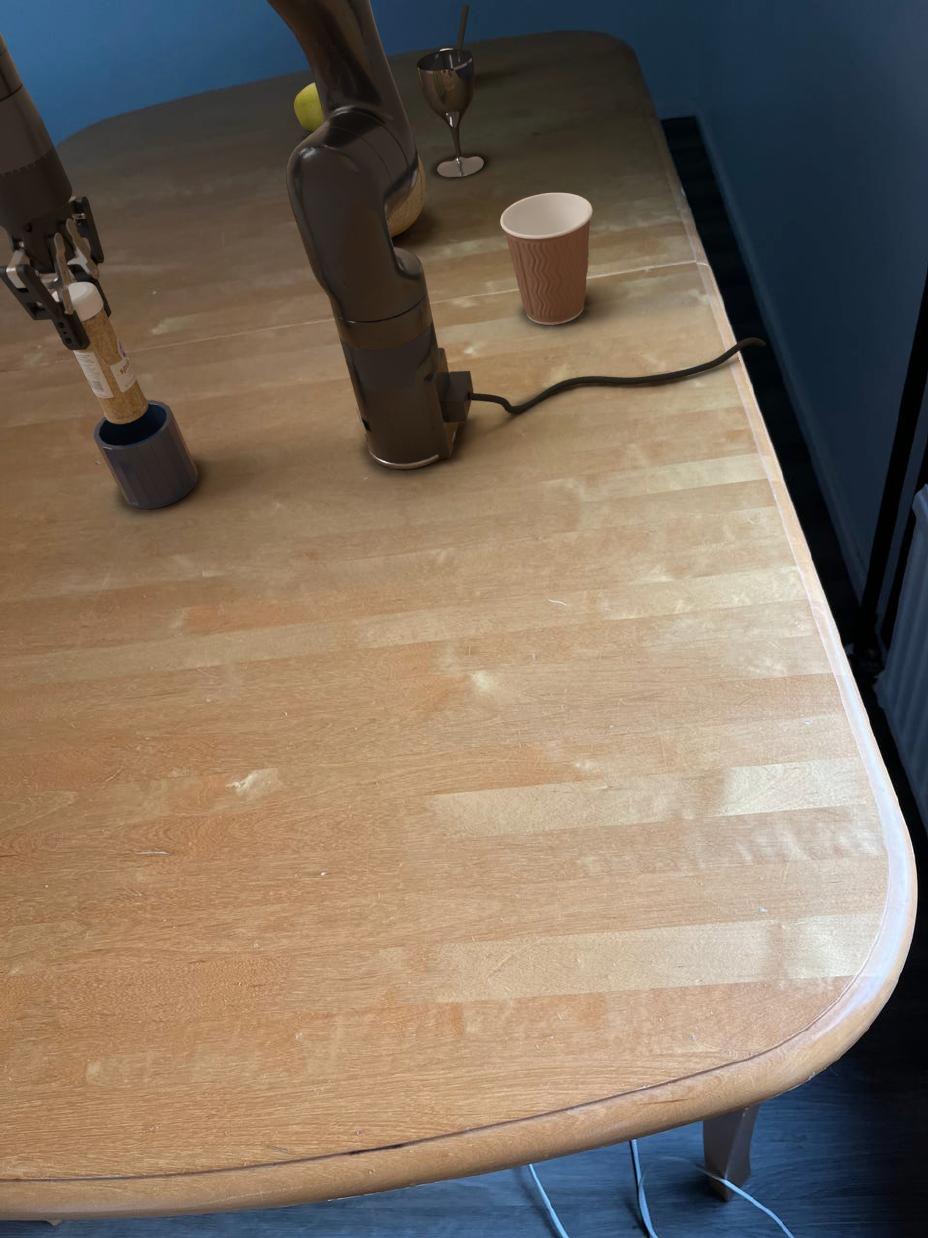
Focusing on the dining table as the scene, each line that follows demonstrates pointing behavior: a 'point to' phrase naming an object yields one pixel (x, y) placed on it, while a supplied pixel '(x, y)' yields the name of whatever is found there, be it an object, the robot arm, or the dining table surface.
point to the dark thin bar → (462, 26)
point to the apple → (309, 108)
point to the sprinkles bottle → (105, 358)
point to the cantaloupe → (409, 206)
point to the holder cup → (148, 457)
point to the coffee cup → (550, 254)
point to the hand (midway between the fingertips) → (90, 331)
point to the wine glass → (450, 100)
